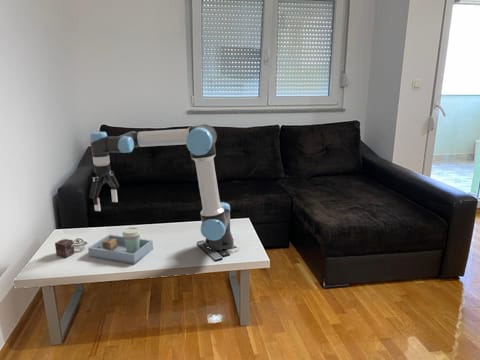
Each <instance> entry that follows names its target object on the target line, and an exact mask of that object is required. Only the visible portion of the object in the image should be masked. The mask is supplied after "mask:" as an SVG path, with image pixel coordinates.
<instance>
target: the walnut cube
mask: <svg viewBox="0 0 480 360" xmlns="http://www.w3.org/2000/svg"><path fill="white" fill-rule="evenodd" d="M102 248H103V249H106V250H112V251H114V250H115V249H117V241H116V239H112V238H107V239H106V240H104V241H102Z"/></svg>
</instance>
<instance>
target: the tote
mask: <svg viewBox="0 0 480 360" xmlns="http://www.w3.org/2000/svg"><path fill="white" fill-rule="evenodd" d="M107 238H112V239H116V241H117V249H115V250H114V251H112V250H106V249H103V248H102V241H104V240H106V239H107ZM153 245H154V242H153V240H152V239H150V240H149V239H145V238H140V241H139V250H138V251H136V252H135V253H134V254H132V253H127V250H126V246H125V241H124V236H123V235H116V234H107V235H105V236H104V237H103V238H101V239H100V240H98V241H97V242H94V243H93V244H92V245H90V246H88V248H87V250H88V257H89V258H93V259H98V260H99V259H100V260H105V261H112V262H117V263H118V262H119V263H124V264H130V265H136V264H138V263H139V262H140V261H141V260H143V258H145V257H146V256H147V255H148V254H149V253H150V252H152V251H153V250H154V246H153Z"/></svg>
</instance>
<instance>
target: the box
mask: <svg viewBox="0 0 480 360" xmlns="http://www.w3.org/2000/svg"><path fill="white" fill-rule="evenodd" d="M54 245H55V246H54V247H55V252H56V253H55V255H56V257H58V258H64V259H68V257H71V256H72V255H74V254H75V248H74V241H73V240H72V239H67V238H63V239H61V240H58V241H56V242H55V243H54Z"/></svg>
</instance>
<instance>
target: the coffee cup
mask: <svg viewBox="0 0 480 360" xmlns="http://www.w3.org/2000/svg"><path fill="white" fill-rule="evenodd" d="M122 236H124V241H125V246H126V250H127V253H132V254H134V253H135V252H136V251H138V250H139V241H140V239H141V237H140V236H141V230H140V229H139V228H138V227H133V226H132V227H128V228H124V229H123V232H122Z"/></svg>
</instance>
